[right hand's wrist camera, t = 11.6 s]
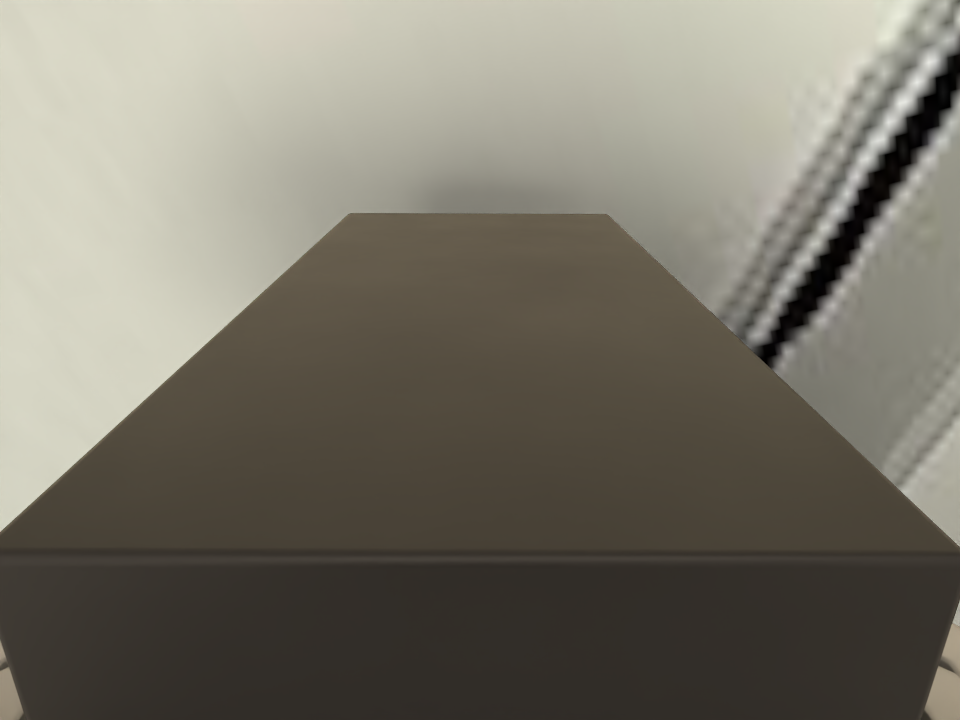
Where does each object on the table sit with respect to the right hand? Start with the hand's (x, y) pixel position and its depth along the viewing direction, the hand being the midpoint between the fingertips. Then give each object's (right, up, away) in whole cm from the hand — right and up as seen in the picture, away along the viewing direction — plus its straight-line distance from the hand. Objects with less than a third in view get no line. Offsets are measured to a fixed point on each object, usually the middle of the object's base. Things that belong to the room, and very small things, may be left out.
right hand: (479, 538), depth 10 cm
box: (0, -5, +10) cm, 11 cm away
